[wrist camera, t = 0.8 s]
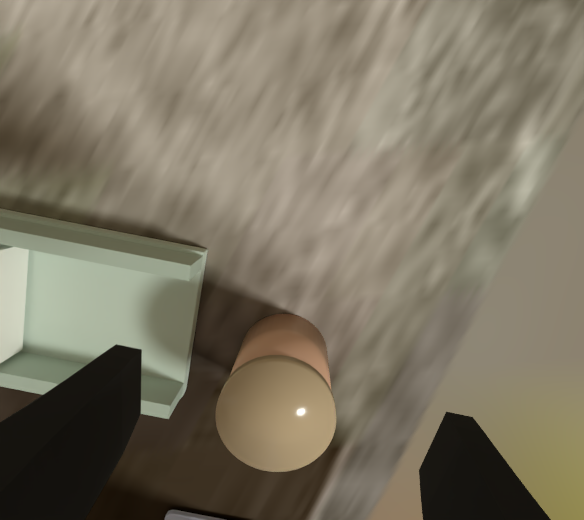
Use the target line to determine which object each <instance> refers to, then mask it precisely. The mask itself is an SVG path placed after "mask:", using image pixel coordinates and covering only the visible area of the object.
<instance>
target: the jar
mask: <svg viewBox="0 0 584 520" xmlns="http://www.w3.org/2000/svg"><path fill="white" fill-rule="evenodd" d="M216 424H217V429H218V432H219V435H220V437H221V439H222V441H223V443H224V444H225V446H226V447H227V448H228V450H229V451H230V452H231V453H232V454H233V455H234V456H235V457H237V458H238V459H239V460H241V461H242V462H244V463H246V464H248V465H249V466H252V467H254V468H257V469H261V470H264V471H271V472H284V471H291V470H295V469H298V468H301V467H304V466H306V465H308V464H310V463H311V462H313V461H314V460H316V459H317V458H318V457H319V456H320V455H321V454H322V453H323V452H324V451H325V450H326V448H327V447H328V445H329V444H330V442H331V440H332V438H333V435H334V432H335V427H336V410H335V402H334V397H333V393H332V391H331V384H330V374H329V364H328V355H327V347H326V343H325V341H324V338H323V336H322V335H321V333H320V332H319V330H318V329H317V328H316V327H315V326H314V325H313V324H312V323H310V322H309V321H308V320H306V319H304V318H302V317H299V316H296V315H292V314H274V315H270V316H268V317H265V318H263V319H261V320H259V321H258V322H257V323H255V324H254V325H253V326H252V327H251V328H250V329H249V331H248V332H247V334H246V336H245V338H244V340H243V343H242V345H241V348H240V350H239V353H238V356H237V358H236V361H235V363H234V366H233V369H232V371H231V374H230V377H229V378H228V379H227V381H226V383H225V384H224V386H223V389H222V391H221V394H220V396H219V399H218V402H217V406H216Z"/></svg>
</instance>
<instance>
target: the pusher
mask: <svg viewBox="0 0 584 520" xmlns="http://www.w3.org/2000/svg"><path fill="white" fill-rule="evenodd" d="M28 255H29V250H28V249H23V248H18V247H13V246H7V245H2V244H0V363H2V362H3V361H5V360H6V359H8V358H10V357H11V356H13V355H14V354H16V353H18V352H19V351H21V350H22V349H23V333H24V318H25V302H26V286H27V271H28Z"/></svg>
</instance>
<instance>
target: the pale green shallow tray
mask: <svg viewBox="0 0 584 520" xmlns="http://www.w3.org/2000/svg"><path fill="white" fill-rule="evenodd" d="M0 244H2V245H7V246H13V247H18V248H23V249H28V250H29V255H28V271H27V286H26V302H25V318H24V333H23V349H22V350H21V351H19V352H18V353H16V354H14V355H13V356H11V357H10V358H8V359H6V360H5V361H3V362H2V363H0V386H2V387H7V388H12V389H17V390H22V391H27V392H32V393H38V394H43V395H44V394H45V393H46V392H48V391H49V390H51V389H52V388H54V387H55V386H57V385H58V384H60V383H61V382H63V381H64V380H66V379H67V378H69V377H70V376H71V375H73V374H74V373H76V372H77V371H79V370H80V369H81V368H83V367H84V366H86V365H87V364H88V363H90V362H91V361H93V360H94V359H96V358H97V357H98V356H100V355H101V354H103V353H104V352H105V351H107V350H108V349H110V348H111V347H113V346H114V345H116V344H117V345H122V346H127V347H132V348H137V349H142V365H141V413H140V414H145V415H150V416H156V417H161V418H166V419H169V417H170V415H171V414H172V412H173V410H174V408H175V407H176V405H177V403H178V401H179V399H180V398H182V396H183V395H184V393H185V391H186V388H187V381H188V375H189V368H190V362H191V355H192V349H193V342H194V336H195V329H196V323H197V316H198V310H199V303H200V297H201V290H202V284H203V277H204V271H205V264H206V258H207V251H208V249H204V248H199V247H194V246H189V245H184V244H179V243H174V242H169V241H164V240H159V239H154V238H148V237H143V236H138V235H133V234H128V233H123V232H118V231H113V230H108V229H103V228H98V227H92V226H87V225H82V224H77V223H72V222H67V221H62V220H57V219H52V218H47V217H42V216H36V215H31V214H26V213H21V212H16V211H11V210H6V209H1V208H0Z"/></svg>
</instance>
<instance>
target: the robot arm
mask: <svg viewBox="0 0 584 520" xmlns="http://www.w3.org/2000/svg"><path fill="white" fill-rule="evenodd" d="M141 365H142V349H137V348H132V347H127V346H122V345H117V344H116V345H114V346H113V347H111V348H110V349H108V350H107V351H105V352H104V353H103V354H101V355H100V356H98V357H97V358H96V359H94V360H93V361H91V362H90V363H88V364H87V365H86V366H84V367H83V368H81V369H80V370H79V371H77V372H76V373H74V374H73V375H71V376H70V377H69V378H67V379H66V380H64V381H63V382H61V383H60V384H58V385H57V386H55V387H54V388H52V389H51V390H49V391H48V392H46V393H45V394H44V395H42V396H41V397H39V398H38V399H36V400H35V401H33V402H32V403H30V404H29V405H27V406H26V407H24V408H22V409H21V410H19V411H18V412H16V413H14V414H13V415H11V416H10V417H8V418H6V419H5V420H3V421H1V422H0V520H85V518H86V517H87V515H88V513H89V511H90V510H91V508H92V506H93V505H94V503H95V501H96V499H97V498H98V496H99V494H100V493H101V491H102V489H103V487H104V486H105V484H106V482H107V481H108V479H109V477H110V475H111V474H112V472H113V470H114V468H115V467H116V465H117V463H118V461H119V460H120V458H121V456H122V454H123V452H124V450H125V448H126V445H127V443H128V441H129V439H130V437H131V434H132V432H133V430H134V427H135V425H136V423H137V420H138V418H139V416H140V413H141ZM419 475H420V490H421V502H422V513H423V520H551V519H550V518H549V517H548V516H547V514H546V513H545V512H544V511H543V509H542V508H541V507H540V506H539V504H538V503H537V502H536V500H535V499H534V498H533V497H532V495H531V494H530V493H529V492H528V490H527V489H526V488H525V486H524V485H523V484H522V482H521V481H520V480H519V478H518V477H517V476H516V475H515V473H514V472H513V470H512V469H511V468H510V467H509V465H508V464H507V462H506V461H505V460H504V458H503V457H502V456H501V454H500V453H499V452H498V450H497V449H496V448H495V446H494V445H493V444H492V442H491V441H490V440H489V438H488V437H487V435H486V434H485V433H484V431H483V430H482V429H481V428H480V426H479V425H478V424H477V422H476V421H475V420H474V419H473V417H469V416H464V415H459V414H454V413H450V412H446V414H445V416H444V418H443V420H442V422H441V424H440V426H439V429H438V431H437V433H436V435H435V437H434V440H433V442H432V444H431V446H430V448H429V450H428V452H427V454H426V457H425V459H424V461H423V463H422V465H421V468H420V470H419ZM165 520H225V519H220V518H215V517H210V516H204V515H199V514H194V513H189V512H184V511H179V510H169V511H168V512H167V514H166V516H165Z"/></svg>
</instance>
